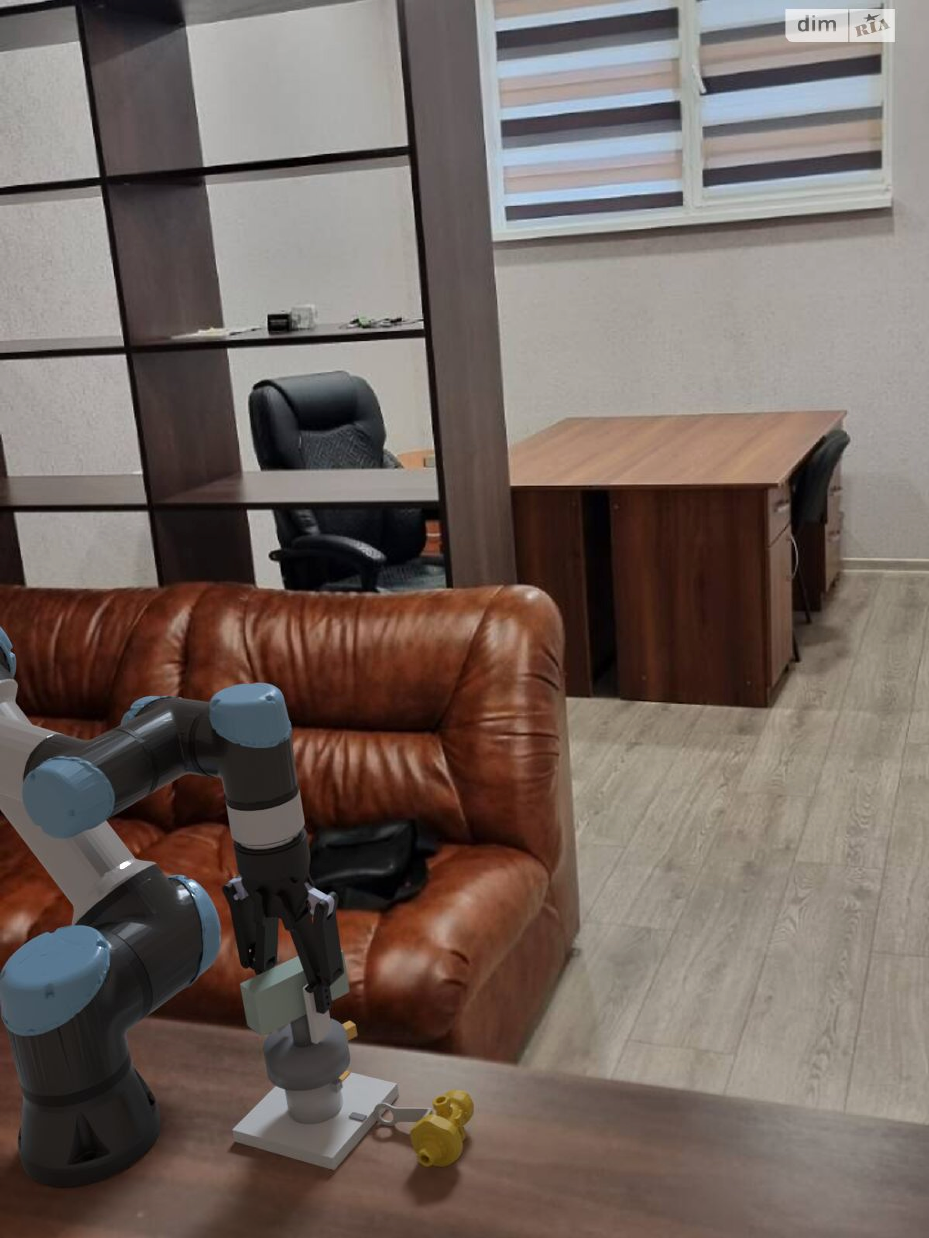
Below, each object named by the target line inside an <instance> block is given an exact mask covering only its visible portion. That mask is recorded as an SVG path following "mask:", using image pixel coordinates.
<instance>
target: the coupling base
mask: <svg viewBox="0 0 929 1238" xmlns="http://www.w3.org/2000/svg"><path fill="white" fill-rule="evenodd" d="M399 1096H400V1093H399V1088H398V1083H395V1082H392V1081H388V1080H383V1079H380V1078H375V1077H371V1076H367V1075H363V1074H359V1073H355V1072H351V1071H350V1070H348V1069H346V1071H345V1072H344V1073H343V1074H342V1075H341V1076H340V1077H339V1078H337V1079H336V1080H335V1081H333V1082H331V1083H329V1084H327V1085H325V1086H322V1087H319V1088H316V1089H312V1090H306V1091H291V1090H285V1089H282V1088H279V1087H277V1086H275V1085H274V1087H273V1088H272V1089H271V1090H270V1091H269V1092H268V1093H267V1094H266V1095H265V1096H264V1097H263V1098H262V1099H261V1100H260V1101H259V1102H258V1103H257V1104H256V1105H255V1106H254V1107H252V1110H250V1111H249V1112H248V1114H246V1115H245V1116H244V1117H243V1118H242V1119H241V1120H240V1121H239V1122H238V1123H237V1124H236V1125H235V1126H234V1127H233V1128H232V1136H233V1140H234V1143H235V1142H236V1143H239V1144H241V1145H245V1146H249V1147H253V1148H256V1149H260V1150H262V1151H266V1152H269V1153H272V1154H276V1155H281V1156H282V1157H283V1156H284V1157H287V1158H290V1159H293V1160H298V1161H301V1162H305V1163H308V1164H311V1165H315V1166H318V1167H322V1168H325V1169H329V1170H333V1171H335V1170H336V1169H337V1168H338V1167H339V1165H341V1163H342V1162H343V1161H344V1160H345V1159H346V1158H347V1156H348V1155H349V1154H350V1153H351V1151H352V1150H353V1149H354V1148H355V1147H356V1146H357V1144H358V1143H359V1142H360V1141H361V1140H362V1139H363V1138H364V1136H365V1135H366V1134H367V1133H368V1132H369V1131H370V1130H371V1128H372V1127H373V1126H374V1125H375V1124H376V1122H377V1121H378V1120H377V1119H376V1117H375V1115H374V1108H375V1106H376V1105H377V1104H378V1103H388V1104H390V1105H392V1104H393V1102H395V1100H396V1099H397V1098H398V1097H399ZM387 1110H388V1109H386V1108H381V1109H379V1114H380V1116H381V1117H382V1116H383V1114H384V1113H385V1112H386V1111H387Z"/></svg>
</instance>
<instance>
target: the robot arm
mask: <svg viewBox="0 0 929 1238" xmlns="http://www.w3.org/2000/svg"><path fill="white" fill-rule="evenodd" d="M12 649H13V644H12V642H11V641H10V639H9V637H8V635H7V633H6V632H5V631H4V630H3V628H2V626H0V811H1V813H2V814H3V815H4V816H5V817H6V819H7V820H8V821H9V823H10V824H11V825H12V827H13V828H14V830H15V831H16V832H17V833H18V835H19V836H20V837H21V839H22V840H23V841H24V843H25V844H26V846H27V847H28V848H29V850H30V851H31V852H32V853H33V854H34V857H36V858H37V859H38V861H39V862H40V864H41V865H42V866H43V868H44V869H45V871H47V873H48V875H50V877H51V878H52V880H53V881H54V882H55V883H56V885H57V886H58V888H59V889H60V890H61V892H62V893H63V894H64V895H65V897H66V898H67V899H68V901H69V902H70V904H72V906H73V914H72V921H71V925H66V926H63V927H59V928H56V930H55V931H54V932H48V931H47V932H44V933H42V934H40V935H37V936H36V937H33V938H32V939H30V940H29V941H28V942H26V943H25V944H23V945H22V946H21V947H20V948H18V949H17V950H16V951H15V952H14V953H12V955H11V956H9V958H8V960H7V961H6V962H5V963H4V966H2V967H3V968H2V969H1V972H0V1015H1V1019H2V1022H3V1023H4V1024H3V1025H4V1026H5V1029H6V1031H7V1032H6V1033H7V1037H8V1040H9V1044H10V1045H9V1046H10V1049H11V1052H12V1057H13V1061H14V1065H15V1069H16V1073H17V1077H18V1081H19V1082H18V1083H19V1085H20V1089H21V1093H22V1103H21V1104H22V1105H21V1113H20V1115H21V1120H20V1121H21V1124H20V1128H19V1131H18V1134H17V1151H18V1156H19V1160H20V1163H21V1166H22V1169H23V1171H24V1173H25V1174H26V1175H27V1177H29V1178H30V1179H31V1178H32V1179H31V1180H33V1181H35V1182H37V1183H40V1184H42V1185H44V1186H50V1187H58V1188H59V1187H60V1188H67V1187H68V1188H69V1187H78V1186H85V1185H88V1184H93V1183H96V1182H99V1181H101V1180H102V1181H103V1180H106V1179H108V1178H110V1177H113V1176H114V1175H117V1174H119V1173H120V1172H123V1171H125V1170H126V1169H127V1168H129V1167H131V1166H133V1164H136V1162H138V1161H139V1160H140V1159H142V1157H144V1155H146V1153H148V1151H150V1150H151V1148H152V1147H153V1145H155V1143H156V1141H157V1139H158V1137H159V1135H160V1132H161V1130H162V1129H161V1128H162V1119H161V1113H160V1108H159V1104H158V1100H157V1099H156V1096H155V1095H154V1093H153V1092H152V1090H151V1088H150V1087H149V1086H148V1084H147V1082H146V1081H145V1080H144V1078H143V1076H142V1075H141V1073H140V1072H139V1070H138V1069H137V1067H136V1066H135V1064H134V1063H133V1061H132V1057H131V1053H130V1052H131V1051H130V1049H129V1048H130V1047H129V1043H128V1037H127V1033H128V1031H129V1030H130V1029H132V1028H133V1027H134V1026H136V1025H137V1024H138V1023H139V1022H141V1021H142V1020H144V1019H145V1018H147V1017H148V1016H149V1015H150V1014H151V1013H153V1012H154V1011H156V1010H157V1009H158V1008H160V1007H161V1006H162V1005H164V1004H165V1003H166V1002H168V1001H169V1000H171V999H172V998H173V997H174V996H176V995H177V994H178V993H180V992H181V991H182V990H184V989H187V988H189V987H191V986H192V985H193V984H194V982H196V981H197V980H198V979H199V977H201V975H202V974H204V973H205V972H206V971H207V970H208V969H209V968H211V967H212V965H213V964H214V963H215V961H216V959H217V958H218V955H219V953H220V949H221V944H222V937H221V932H222V927H221V923H220V917H219V915H218V911H217V909H216V906H215V904H214V902H213V901H212V898H211V897H210V895H209V894H208V892H207V891H206V889H204V887H202V886H201V884H200V883H198V882H197V881H196V880H194V879H193V878H188V877H187V875H183V874H175V875H168V876H166V874H165V872H163V870H162V869H161V868H160V867H159V865H158V864H157V863H156V862H155V861H149V860H142V859H141V860H140V859H137V858H135V856H134V855H133V854H132V852H131V851H130V849H128V847H127V846H126V845H125V843H124V842H123V841H122V839H121V838H120V836H119V835H118V834H117V833H116V831H115V830H114V829H113V828H112V826H111V825H110V824H109V822H108V821H107V820H108V819H110V818H112V817H114V816H115V815H118V814H119V813H120V812H122V811H124V810H126V809H127V808H129V807H131V806H132V805H134V804H135V803H137V802H138V801H141V800H142V799H144V798H145V797H148V796H149V795H151V794H153V793H155V792H157V791H158V790H160V789H163V787H166V786H168V785H169V784H172V782H175V781H176V780H177V779H180V778H181V777H183V776H185V775H197V776H203V777H209V778H219V779H220V780H221V782H222V788H223V792H224V801H225V803H226V804H225V805H226V810H227V816H228V823H229V829H230V835H231V838H232V840H234V841H233V850H234V851H233V852H234V857H235V858H234V859H235V863H236V868H237V873H238V875H236V876H234V877H233V878H232V879H231V880H229V881H227V882H226V883H225V884H223V885H222V887H221V891H222V893H223V895H224V897H225V900H226V902H227V904H228V906H229V912H230V916H231V921H232V922H231V923H232V928H233V932H234V938H235V944H236V949H237V953H238V959H239V964H240V966H241V967H242V968H243V969H245V970H248V969H249V968H250V969H252V971H254V973H255V976H257V975H259V974H261V973H264V972H266V971H268V970H270V969H272V968H274V967H276V966H278V965H279V963H280V962H281V961H282V959H281V958H279V957H278V951H279V949H278V948H279V947H278V946H279V945H278V944H279V929H280V928H279V925H280V923H279V921H280V920H281V922H282V925H283V928H284V930H285V931H286V932H289V934H290V937H291V939H292V942H293V946H294V948H295V950H296V953H297V956H298V957H299V959H300V962H301V965H302V968H303V971H304V973H305V976H306V979H307V982H308V984H307V985H306V986H305V987H304V988H303V993H304V999H305V1005H306V1011H307V1017H308V1023H309V1029H310V1036H311V1042H312V1043H316V1044H318V1043H319V1042H320V1041H321V1040H322V1039H323V1038H324V1037H325V1036H326V1035H327V1034H328V1033H329V1032H330V1031H331V1030H332V1027H331V1021H330V1019H331V1017H330V1009H331V1008H332V1007H333V1001H332V999H331V998H332V997H331V991H330V986H331V985H332V984H333V983H334V982H335V981H336V980H337V979H338V978H340V977H341V976H342V975H343V974H344V967H343V960H342V953H341V950H342V947H341V939H340V934H339V933H340V931H339V926H338V919H337V909H338V903H339V895H338V894H337V893H336V892H334V891H330V892H329V893H328V894H326V893H324V892H322V891H320V890H318V889H317V888H316V886H315V883H314V880H313V878H311V875H310V863H311V851H310V845H309V839H308V832H307V830H306V828H305V827H304V826H305V815H304V811H303V803H302V798H301V797H302V796H301V791H300V785H299V783H300V782H299V780H298V775H297V774H298V773H297V765H296V760H295V751H294V744H293V743H294V741H293V735H292V731H293V730H292V723H291V721H290V718H289V714H288V710H287V704H286V702H285V697H284V695H283V692H282V691H281V690H280V689H279V688H278V687H276V686H275V685H273V684H270V683H267V682H266V683H265V682H253V683H240V684H235V685H232V686H229V687H225V688H223V689H221V690H219V691H218V692H215V694H214V695H213V696H212V697H211V699H210V701H203V700H197V699H189V698H182V697H179V696H176V695H172V696H171V695H160V696H157V695H156V696H155V695H149V696H145V697H142V698H139V699H137V700H135V701H134V702H132V704H131V705H130V708H129V709H128V711H126V712H125V713H124V714H123V717H122V719H121V721H120V725H119V726H116V727H115V728H111V729H110V730H108V731H106V732H104V733H102V734H100V735H98V736H96V737H93V738H92V739H88V740H87V739H81V738H77V737H75V736H70V735H67V734H63V733H60V732H57V731H54V730H50V729H47V728H43V727H42V726H37V725H35V724H32V722H31V721H30V720H29V718H28V717H27V715H25V712H24V711H22V710H21V708H20V706H19V705H18V704H17V703H16V698H17V693H18V687H19V685H18V682H17V681H16V680H15V678H14V677H15V674H16V672H17V671H16V670H17V658H16V654H15V653H13V652H12V651H11V650H12ZM288 1024H289V1023H288ZM288 1024H286V1025H284V1026H282V1027H280V1028H278V1029H276V1030H274V1031H272V1032H273V1033H277V1034H278V1033H279V1032H280V1031H282V1030H283V1029H284V1028H285V1027H286V1026H287V1025H288Z"/></svg>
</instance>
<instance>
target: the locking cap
mask: <svg viewBox="0 0 929 1238" xmlns="http://www.w3.org/2000/svg"><path fill="white" fill-rule="evenodd" d="M341 953H342V960H343V967H344V974H343V975H342V976H341V977H340V978H338V979H337V980H336V981H335V982H334V983H333V984H332V985H331V986H330V991H331V997H332V998H331V999H332V1002H333V1001H335V1000H337V999H339V998H341V997H343V996H345V995H346V994H348V993H351V992H350V985H349V978H348V972H347V967H346V960H345V954H344V950H342V949H341ZM307 984H308V982H307V979H306V976H305V973H304V971H303V968H302V965H301V962H300V959H299V957H298V955H297V956H295V957H293V958H291V959H288V960H287V961H285V962H283V963H280V964H277V965H275V966H274V968H272V969H270V970H268V971H266V972H264V973H261V974H259V975H255V976H253V977H251V978H249V979H246V980H245V981H242V982H241V983H239V987H240V993H241V997H242V1002H243V1007H244V1014H245V1019H246V1025H247V1027H249V1028H250V1029H251V1030H253V1032H255V1033H257V1035H259V1036H260V1037H264V1036H267V1035H268V1034H269V1035H268V1036H267V1037H265V1038H266V1039H265V1040H264V1042H263V1045H262V1052H263V1058H264V1063H265V1068H266V1073H267V1074H266V1075H267V1078H268V1080H269V1081H270V1082H271V1083H272V1084H273V1085H274V1087H275V1086H277V1087H279V1088H282V1089H285V1090H291V1091H306V1090H312V1089H316V1088H319V1087H322V1086H325V1085H327V1084H329V1083H331V1082H333V1081H335V1080H336V1079H337V1078H339V1077H340V1076H341V1075H342V1074H343V1073H344V1072H345V1071H346V1070H348V1068H349V1065H350V1062H351V1054H350V1047H349V1041H351V1040H352V1039H354V1038H356V1037H358V1032H357V1031H358V1030H357V1025H356V1023H354V1022H353V1021H351V1020H348V1021H346V1022H344V1023H341V1022H339V1021H337V1020H336V1019H334V1018H330V1021H331V1027H332V1030H331V1031H330V1032H329V1033H328V1034H327V1035H326V1036H325V1037H324V1038H323V1039H322V1040H321V1041H320V1042H319V1043H318V1044H316V1043H312V1042H311V1036H310V1029H309V1023H308V1017H307V1011H306V1005H305V999H304V993H303V988H304V987H305V986H306V985H307ZM288 1023H289V1024H288ZM286 1024H288V1025H287V1026H286V1027H285V1028H284V1029H283V1030H282V1031H280V1032H279V1033H278V1034H277V1033H273V1032H272V1031H274V1030H276V1029H278V1028H280V1027H282V1026H284V1025H286Z"/></svg>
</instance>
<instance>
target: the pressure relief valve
mask: <svg viewBox="0 0 929 1238" xmlns="http://www.w3.org/2000/svg"><path fill="white" fill-rule="evenodd" d="M431 1104H432V1107H433V1108H432V1107H415V1106H414V1107H411V1106H409V1107H408V1106H407V1107H405V1106H404V1107H398V1106H394V1105H392V1104H391V1105H390V1104H388V1103H378V1104H377V1105H376V1106H375V1108H374V1115H375V1117H376V1119H377V1121H378V1123H379V1124H381V1125H384V1126H390V1127H393V1126H395V1125H396V1124H398V1123H414V1125H412V1127H411V1130H410V1131H409V1138H410V1142H411V1145H412V1148H413V1151H414V1152H415V1154H416V1155H417V1160H418V1163H420V1164H421V1165H422V1166H423V1167H429V1168H430V1167H431V1166H434V1167H439V1166H442V1167H441V1168H445V1167H448V1166H450V1165H451V1164H452V1163H454V1162H455V1161H457V1160H458V1159H459V1157H460V1156H461V1154H462V1152H463V1149H464V1146H463V1145H464V1144H463V1142H464V1141H465V1140H464V1139H467V1134H466V1131H465V1128H464V1126H466V1125H467V1124H468V1123H469V1122H470V1121H471V1119H472V1117H473V1115H474V1111H475V1110H474V1109H475V1107H474V1102H473V1100H472V1098H471V1096H470V1095H469V1093H468V1092H467V1091H464V1090H462V1089H451V1090H449V1091H448V1092H445V1094H442V1095H438V1096H436V1097H435V1098H434V1099H433V1101H432V1103H431ZM381 1108H386V1109H387V1110H388V1111H389V1112H390V1113H391V1114H392V1119H391V1120H386V1119H385V1118H383V1117H382V1115H381V1116H380V1114H379V1109H381ZM433 1109H434V1111H436V1113H435V1112H434V1113H433Z"/></svg>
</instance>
